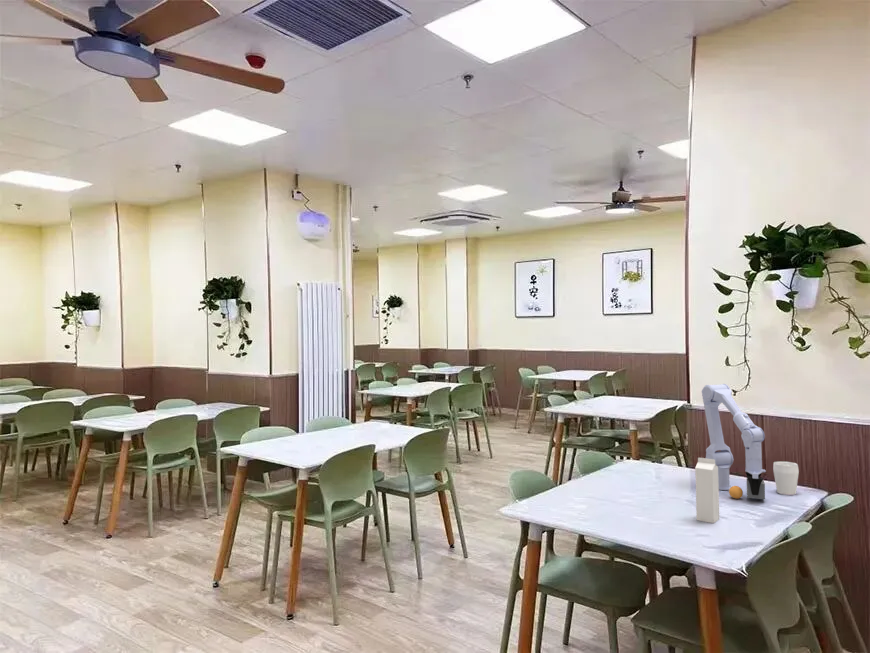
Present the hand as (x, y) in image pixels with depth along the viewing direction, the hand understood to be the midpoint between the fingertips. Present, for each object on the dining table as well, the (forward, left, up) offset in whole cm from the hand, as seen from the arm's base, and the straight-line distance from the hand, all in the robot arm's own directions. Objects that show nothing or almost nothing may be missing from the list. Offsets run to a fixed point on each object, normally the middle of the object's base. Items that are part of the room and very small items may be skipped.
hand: (754, 492), depth 239 cm
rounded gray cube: (0, 0, -2) cm, 2 cm away
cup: (+13, +15, -3) cm, 20 cm away
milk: (-17, -32, -3) cm, 36 cm away
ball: (-7, 0, 0) cm, 7 cm away
